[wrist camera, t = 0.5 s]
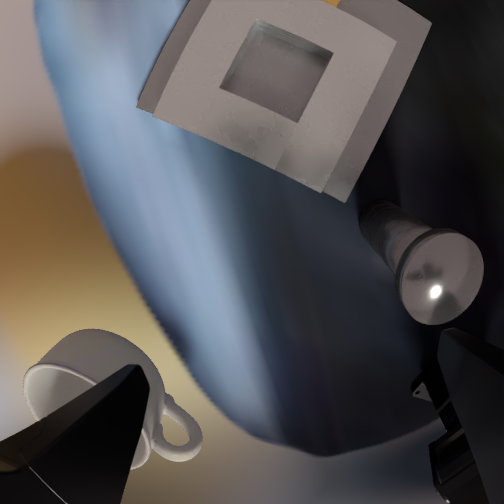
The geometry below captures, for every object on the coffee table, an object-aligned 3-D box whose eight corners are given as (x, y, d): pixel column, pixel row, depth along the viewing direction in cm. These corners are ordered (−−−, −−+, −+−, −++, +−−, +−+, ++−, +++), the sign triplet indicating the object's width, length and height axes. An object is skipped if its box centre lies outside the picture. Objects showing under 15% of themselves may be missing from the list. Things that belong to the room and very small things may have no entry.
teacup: (62, 371, 26) (24, 424, 19) (74, 287, 23) (15, 341, 15) (188, 432, 28) (171, 497, 20) (231, 363, 24) (217, 444, 17)
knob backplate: (440, -4, 14) (456, -16, 11) (342, 201, 19) (352, 210, 17) (257, -88, 12) (255, -107, 10) (139, 107, 18) (122, 105, 16)
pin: (418, 210, 19) (497, 260, 11) (389, 261, 20) (448, 335, 12) (370, 180, 19) (439, 216, 10) (340, 235, 20) (384, 305, 12)
